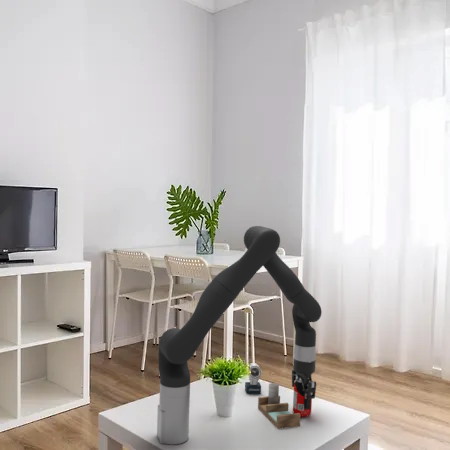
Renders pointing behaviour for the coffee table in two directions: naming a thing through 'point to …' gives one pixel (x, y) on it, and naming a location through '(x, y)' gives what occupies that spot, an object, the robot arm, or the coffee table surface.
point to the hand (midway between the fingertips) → (302, 404)
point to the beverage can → (300, 400)
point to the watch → (253, 380)
